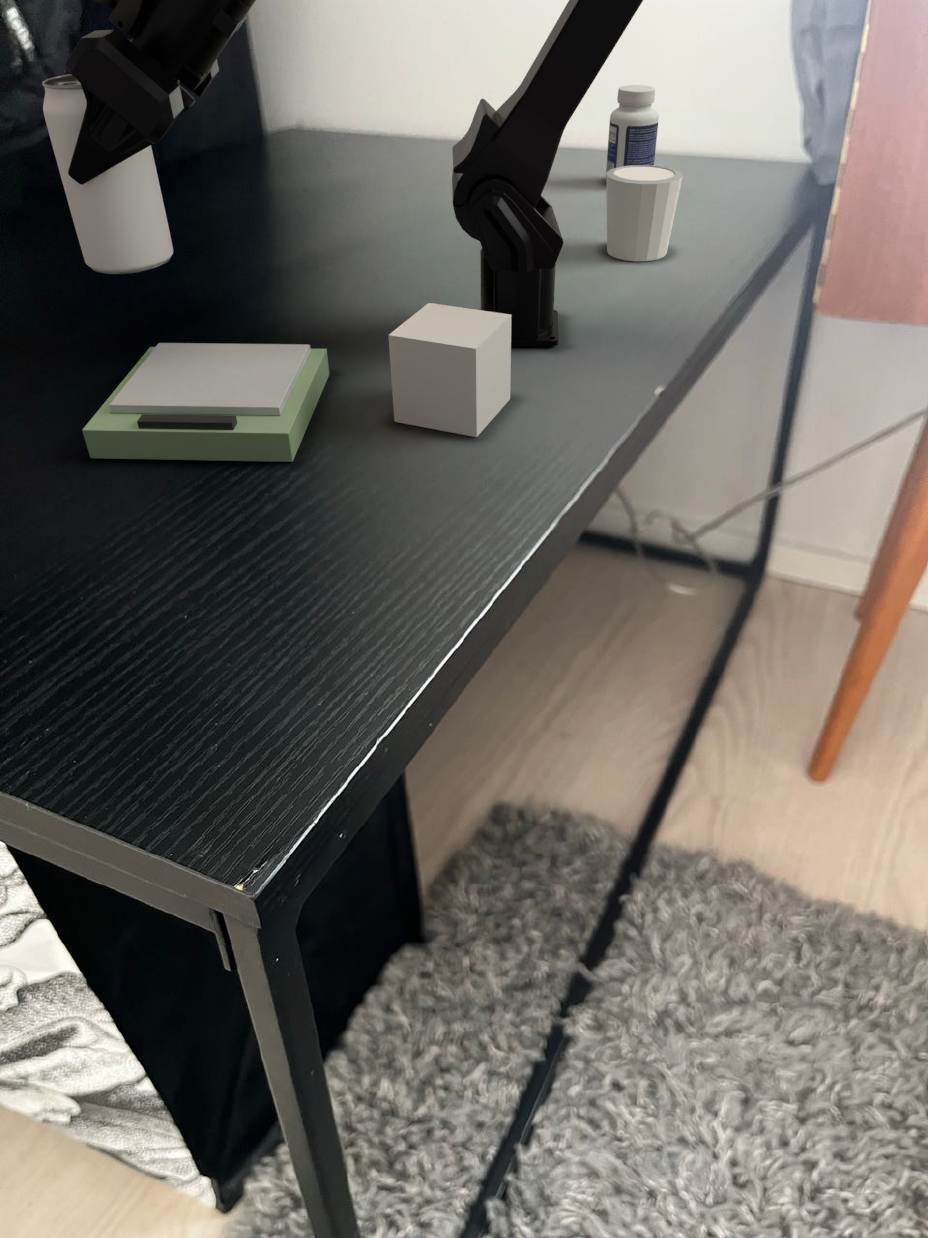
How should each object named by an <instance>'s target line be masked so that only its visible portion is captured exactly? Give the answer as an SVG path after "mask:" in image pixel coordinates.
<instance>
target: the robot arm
mask: <svg viewBox="0 0 928 1238" xmlns="http://www.w3.org/2000/svg"><path fill="white" fill-rule="evenodd" d="M91 1H92V2H94V3H95V4H96V3H97V4H99V5H101V6H103V7H105V8H108V9H112V12H111V14H110V15H109V17H108V18H107V20H108V21H109V22H110V23H111V24H112V25H113V26H114V27H115V28H117V29H99V30H94V31H92V32H89V33H88V34H86V35H84V36H82V37H80V38H79V40H78V42H77V43H76V45H75V47H74V48H73V49H72V51H71V53H70V55H69V57H68V59H67V60H66V62H65V64H64V66H65V68H66V69H67V71H68V72H69V74H71V75H73V76H74V77H75V78H76V79H77V80H78V81H79V82H80V83H81V86H82V89H83V92H84V95H85V98H86V102H87V105H86V110H85V114H84V118H83V121H82V125H81V129H80V132H79V135H78V139H77V142H76V146H75V149H74V153H73V156H72V160H71V163H70V167H69V170H68V174H69V176H70V177H71V178H72V179H74V180H75V181H76V182H78V183H79V184H81V185H83V184H85V183H87V182H88V181H90V180H92V179H93V178H95V177H97V176H98V175H100V174H102V173H103V172H105V171H107V170H109V169H110V168H112V167H114V166H115V165H117V164H119V163H121V162H122V161H124V160H126V159H128V158H129V157H131V156H133V155H134V154H136V153H138V152H140V151H141V150H143V149H145V148H147V147H148V146H150V145H151V146H152V145H154V144H158V143H159V142H160V141H161V140H162V139H163V138H164V137H165V136H166V135H167V133H168V132H169V131H170V129H171V128H172V127H173V125H174V124H175V123H176V121H177V119H178V118H179V116H181V115H182V114H183V113H185V112H187V111H188V110H189V109H190V108H192V106H193V105H194V104H195V102H196V99H195V97H194V96H193V95H192V94H191V93H194V94H195V95H196V96H197V97H198V98H201V96H203V95H204V93H205V92H207V89H208V88H209V87H210V85H211V84H212V81H214V79H215V78H216V76H217V75H218V73H219V72H220V67H219V63H218V58H219V56H220V55H221V53H222V52H223V51H224V49H225V48H226V46H227V44H228V43H229V41H230V40H231V39H232V37H233V36H234V34H235V33H236V32H238V30H239V29H240V28H241V27H242V25H243V23H244V22H245V20H247V18H248V14H249V12H250V10H251V9H252V7H253V6H254V4H255V3H256V1H257V0H91ZM643 2H644V0H568V2H567V3H566V5H565V6H564V8H563V10H562V12H561V14H560V15H559V17H558V19H557V20H556V22H555V24H554V26H553V27H552V29H551V31H550V32H549V34H548V36H547V38H546V39H545V42H544V43H543V45H542V46H541V48H540V50H539V51H538V53H537V55H536V57H535V58H534V60H533V62H532V63H531V65H530V67H529V69H528V70H527V72H526V74H525V76H524V78H523V80H522V81H521V83H520V85H519V86H518V87H517V88H516V90H515V91H514V92H513V93H512V94H511V95H510V96H509V97H508V98H507V99H506V100H505V101H504V102H503V103H502V104H501V105H500V107H498V108H497V110H496V109H495V108H494V107H493V106H492V105H491V104H490V103H489V102H488V101H487V100H486V99H485V98H480V100H479V102H478V105H477V106H476V109H475V112H474V114H473V118H472V121H471V123H470V125H469V127H468V130H467V131H466V133H465V134H464V136H463V137H462V138H461V139H460V140H459V141H457V142H456V143H455V144H454V145H453V146H452V148H451V151H452V175H451V191H452V192H451V193H452V207H453V211H454V217H455V219H456V221H457V223H458V224H459V225H460V228H461V229H462V230H463V232H465V233H466V234H467V235H468V236H469V237H470V238H471V239H473V240H476V241H478V242H479V244H480V246H481V249H480V251H479V252H480V253H479V254H480V255H479V256H480V262H479V263H480V309H479V310H482V311H489V312H496V313H503V314H511V346H519V347H520V346H521V347H523V346H529V347H531V346H535V347H546V346H547V347H555V346H557V345H559V338H560V337H559V313H558V310H556V309H555V289H556V288H555V287H556V265H557V261H558V258H559V255H560V253H561V251H562V248H563V246H564V239H563V236H562V233H561V230H560V227H559V223H558V221H557V218H556V215H555V211H554V209H553V206H552V205H551V203H550V202H549V201H547V199H546V198H545V197H544V196H543V195H542V194H543V192H544V190H545V188H546V187H545V186H546V185H547V182H548V179H549V177H550V173H551V170H552V167H553V164H554V162H555V158H556V155H557V152H558V150H559V146H560V143H561V139H562V136H563V134H564V132H565V129H566V126H567V125H568V123H569V122H570V120H571V118H572V116H573V115H574V113H575V112H576V110H577V108H578V107H579V105H580V104H581V103H582V100H583V99H584V97H585V95H586V94H587V93H588V90H589V89H590V88H591V85H592V84H593V82H594V81H595V79H596V77H598V74H599V73H600V71H601V69H602V68H603V66H604V65H605V63H606V61H607V60H608V58H609V57H610V55H611V53H612V52H613V50H614V48H615V47H616V45H617V44H618V42H619V41H620V39H621V38H622V36H623V34H624V32H625V31H626V29H627V28H628V26H629V24H630V23H631V22H632V19H633V18H634V16H635V14H636V12H637V11H638V10H639V8H640V6H641V5H642V3H643ZM125 35H127V36H128V37H130V38H131V39H128V37H126V36H125ZM181 84H182V85H184V86H185V87H186V88H187V89H188V90H189V91H190V92H191V93H190V92H189V91H188V90H187V89H186V88H184V87H183V86H182V85H181Z"/></svg>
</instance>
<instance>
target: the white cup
mask: <svg viewBox="0 0 928 1238" xmlns="http://www.w3.org/2000/svg"><path fill="white" fill-rule="evenodd" d="M683 177H684V175H683V173H682V172H681V171H679V170H677V169H675V168H671V167H668V166H667V167H666V166H662V165H654V166H653V165H630V166H622V167H617V168H614V169H610V170H609V171H608V172H607V173H606V172H605V184H606V185H605V186H606V191H605V192H606V193H605V194H606V252H607V254H608V255H609V256H611V257H613V258H615V259H618V260H622V261H629V262H651V261H656V260H657V261H658V260H660V259H662V258H664V257H665V256H666V255H667V254H668V250H669V246H670V245H669V244H670V239H671V235H672V229H673V225H674V219H675V215H676V212H677V211H676V210H677V207H678V206H677V205H678V201H679V196H680V191H681V186H682V181H683Z"/></svg>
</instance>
